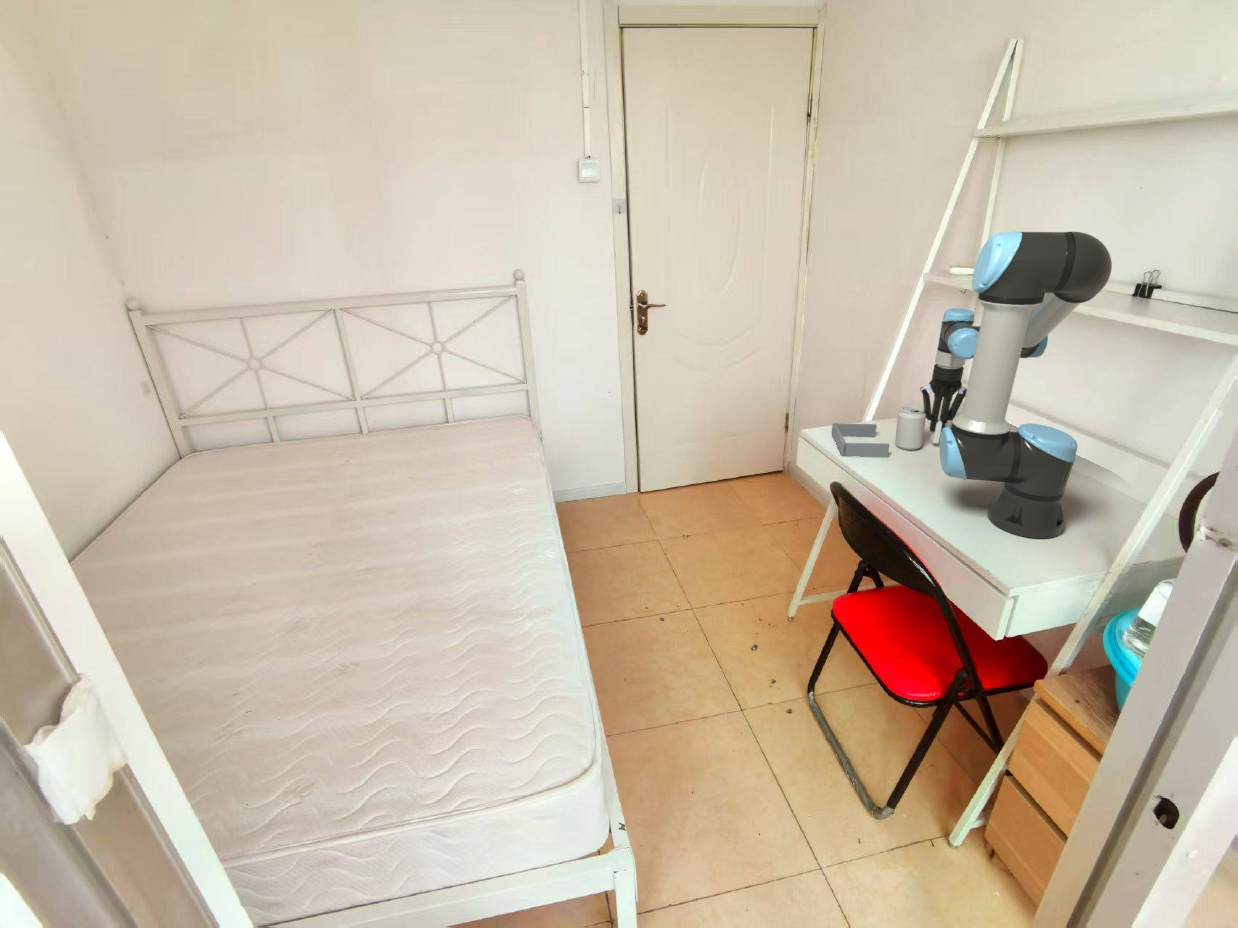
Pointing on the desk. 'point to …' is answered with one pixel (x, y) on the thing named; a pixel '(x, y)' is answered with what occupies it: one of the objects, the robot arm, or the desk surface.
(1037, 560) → the desk surface
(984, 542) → the desk surface
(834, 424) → the box
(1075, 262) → the robot arm
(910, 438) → the can
